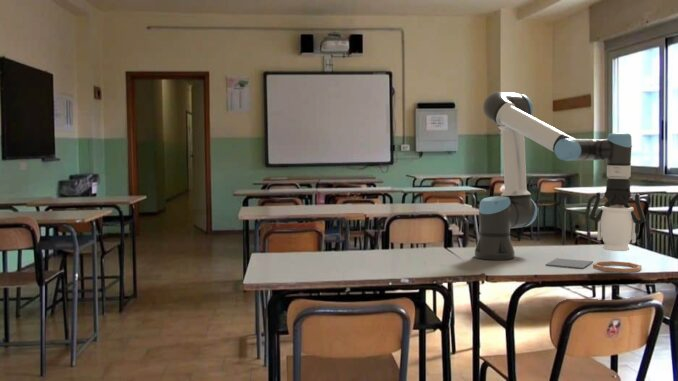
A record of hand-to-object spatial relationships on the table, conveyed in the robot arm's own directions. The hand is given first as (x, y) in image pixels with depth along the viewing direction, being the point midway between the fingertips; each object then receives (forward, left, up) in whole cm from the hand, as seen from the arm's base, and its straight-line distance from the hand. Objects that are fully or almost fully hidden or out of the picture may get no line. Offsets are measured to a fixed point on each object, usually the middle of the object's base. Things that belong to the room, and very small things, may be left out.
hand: (616, 241), depth 216 cm
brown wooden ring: (0, 0, -9) cm, 9 cm away
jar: (0, 0, -3) cm, 3 cm away
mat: (-16, 0, -9) cm, 18 cm away
